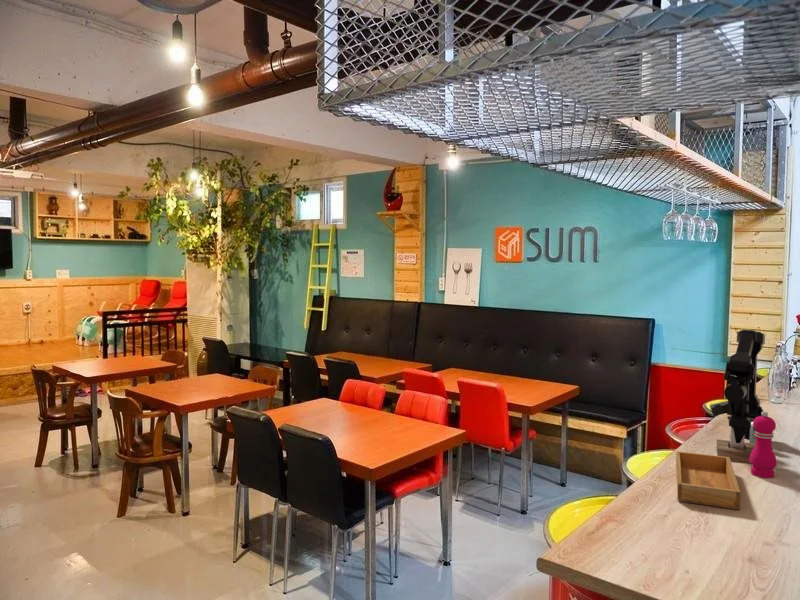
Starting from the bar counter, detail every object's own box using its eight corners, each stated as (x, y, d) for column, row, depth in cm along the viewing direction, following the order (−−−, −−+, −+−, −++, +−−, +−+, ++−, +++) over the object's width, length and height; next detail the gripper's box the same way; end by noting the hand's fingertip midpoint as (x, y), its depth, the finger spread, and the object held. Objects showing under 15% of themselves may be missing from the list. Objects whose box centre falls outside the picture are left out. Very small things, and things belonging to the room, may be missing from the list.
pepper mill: (768, 470, 186) (771, 408, 184) (781, 479, 179) (783, 414, 177) (744, 470, 186) (746, 408, 185) (756, 478, 179) (758, 414, 178)
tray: (675, 466, 191) (676, 449, 191) (729, 473, 185) (729, 455, 185) (677, 503, 163) (677, 483, 163) (739, 512, 157) (740, 492, 157)
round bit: (749, 444, 211) (749, 420, 210) (762, 446, 209) (763, 421, 208) (749, 448, 207) (750, 423, 207) (763, 449, 205) (764, 424, 205)
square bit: (729, 447, 203) (730, 421, 202) (743, 449, 201) (744, 423, 200) (730, 450, 199) (731, 424, 199) (744, 452, 198) (744, 426, 197)
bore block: (716, 447, 208) (716, 439, 208) (755, 452, 203) (756, 443, 203) (717, 458, 198) (717, 449, 197) (759, 463, 192) (759, 454, 192)
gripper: (711, 388, 211) (710, 430, 212) (712, 400, 194) (711, 446, 195) (747, 391, 206) (745, 434, 207) (751, 403, 189) (750, 450, 190)
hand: (737, 441), depth 200 cm, fingers closed on square bit, 4 cm apart
